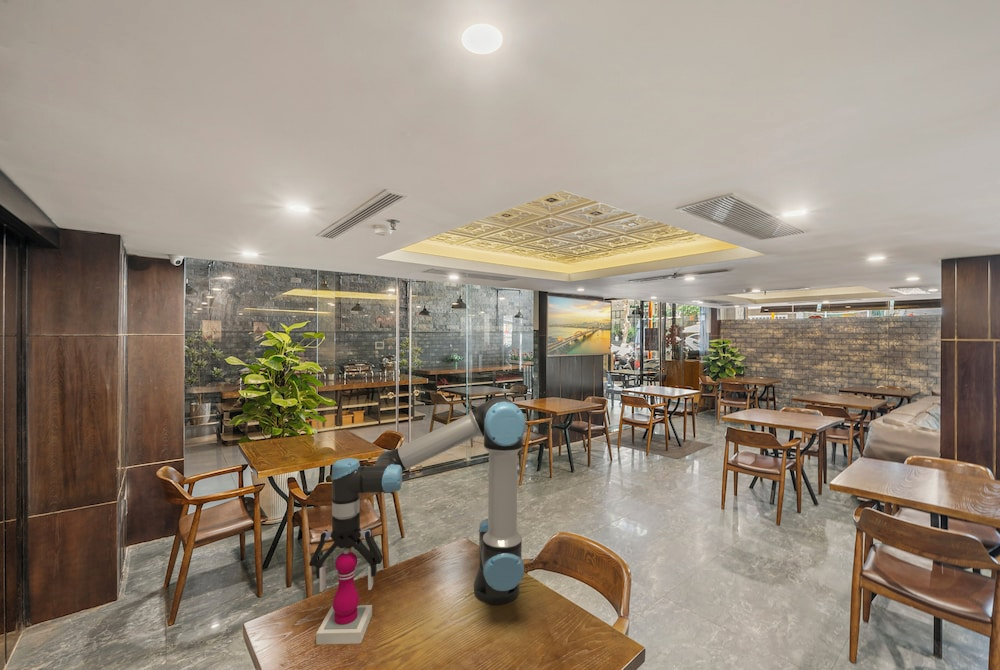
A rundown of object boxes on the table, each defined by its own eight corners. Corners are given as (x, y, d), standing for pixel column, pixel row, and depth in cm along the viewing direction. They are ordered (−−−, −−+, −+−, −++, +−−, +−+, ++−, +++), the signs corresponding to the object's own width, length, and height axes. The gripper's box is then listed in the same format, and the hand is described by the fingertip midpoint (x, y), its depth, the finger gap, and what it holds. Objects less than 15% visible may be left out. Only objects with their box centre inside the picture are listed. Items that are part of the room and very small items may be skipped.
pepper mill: (350, 627, 118) (350, 555, 119) (327, 624, 120) (327, 552, 120) (364, 611, 126) (364, 543, 126) (341, 608, 127) (342, 540, 127)
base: (372, 614, 129) (372, 604, 129) (360, 643, 117) (360, 631, 117) (331, 615, 128) (331, 604, 128) (316, 644, 116) (316, 632, 116)
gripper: (392, 507, 127) (393, 579, 127) (307, 510, 126) (308, 581, 126) (386, 518, 120) (387, 594, 120) (296, 521, 119) (297, 597, 119)
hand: (346, 588), depth 123 cm, fingers open, 13 cm apart
